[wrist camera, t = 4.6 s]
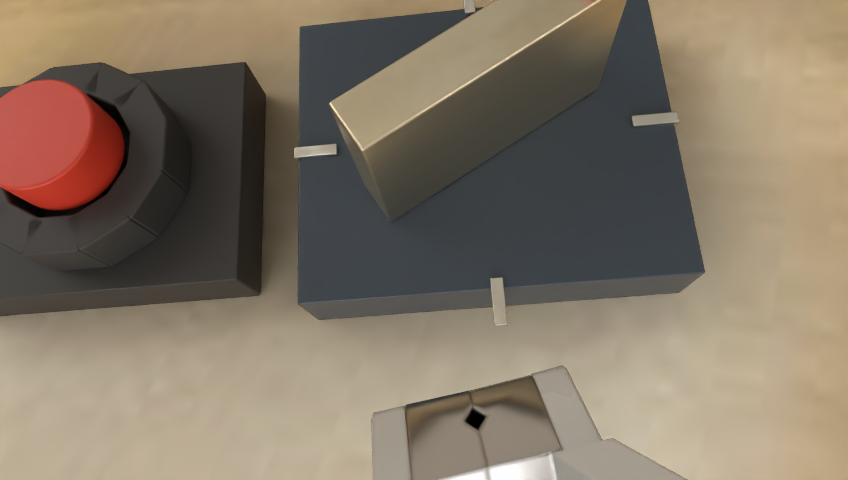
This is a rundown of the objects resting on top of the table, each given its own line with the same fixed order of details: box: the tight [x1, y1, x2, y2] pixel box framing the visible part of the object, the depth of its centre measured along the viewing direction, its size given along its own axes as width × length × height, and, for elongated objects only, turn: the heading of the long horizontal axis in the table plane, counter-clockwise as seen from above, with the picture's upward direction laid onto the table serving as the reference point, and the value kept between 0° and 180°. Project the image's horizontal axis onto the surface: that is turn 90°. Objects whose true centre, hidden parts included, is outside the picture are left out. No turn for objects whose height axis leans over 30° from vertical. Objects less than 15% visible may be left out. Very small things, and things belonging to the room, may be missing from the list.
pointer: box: [329, 0, 627, 222], centre depth 17 cm, size 8×2×5 cm, turn 123°
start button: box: [0, 79, 125, 210], centre depth 19 cm, size 4×4×2 cm
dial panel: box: [294, 0, 705, 326], centre depth 21 cm, size 12×12×3 cm
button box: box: [0, 62, 266, 316], centre depth 21 cm, size 10×8×4 cm
